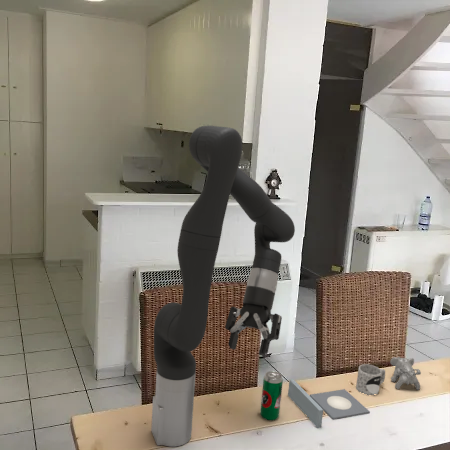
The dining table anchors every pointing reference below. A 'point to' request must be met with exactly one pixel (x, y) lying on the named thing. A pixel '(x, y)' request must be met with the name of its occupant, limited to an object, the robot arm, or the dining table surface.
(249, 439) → the dining table surface
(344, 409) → the slate pad
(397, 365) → the elephant statuette
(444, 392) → the dining table surface
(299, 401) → the acrylic wall
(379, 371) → the mug
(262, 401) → the soda can
